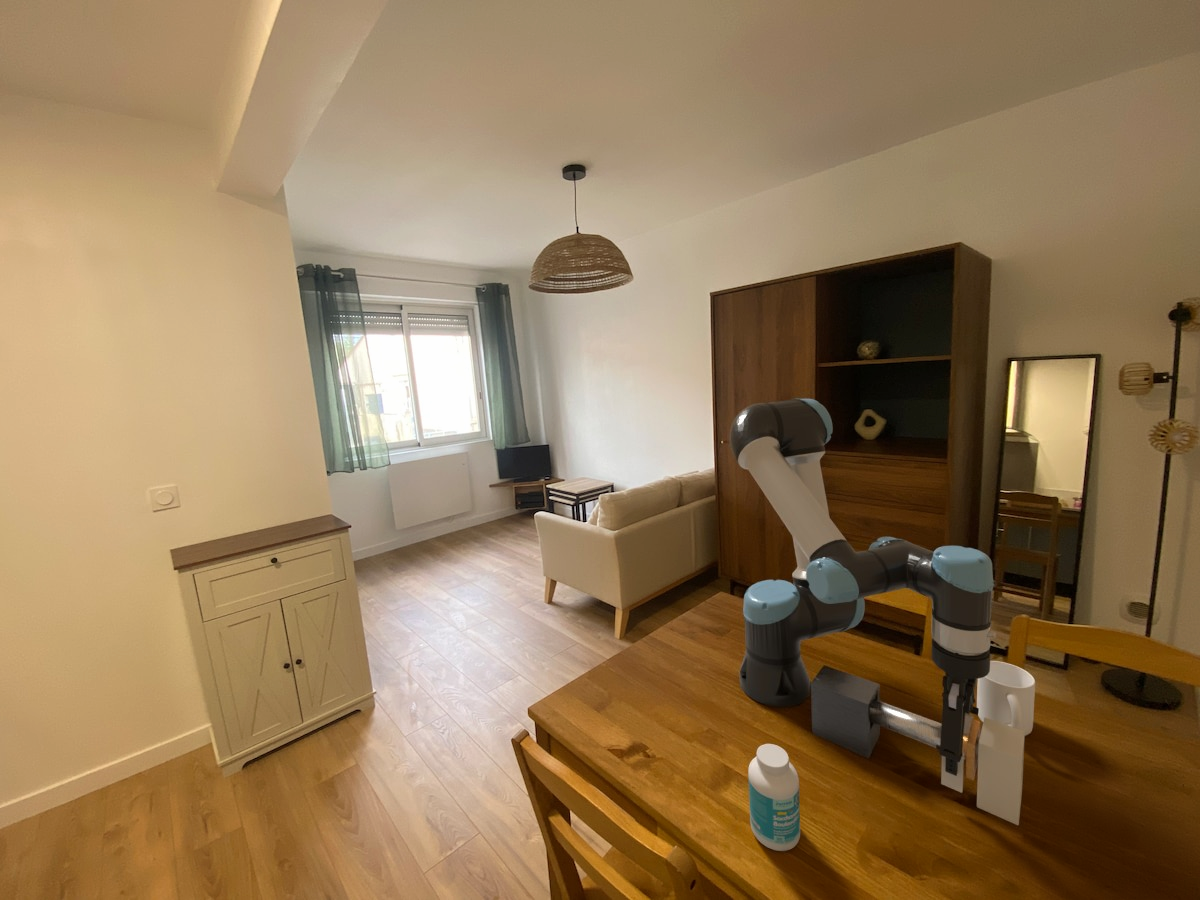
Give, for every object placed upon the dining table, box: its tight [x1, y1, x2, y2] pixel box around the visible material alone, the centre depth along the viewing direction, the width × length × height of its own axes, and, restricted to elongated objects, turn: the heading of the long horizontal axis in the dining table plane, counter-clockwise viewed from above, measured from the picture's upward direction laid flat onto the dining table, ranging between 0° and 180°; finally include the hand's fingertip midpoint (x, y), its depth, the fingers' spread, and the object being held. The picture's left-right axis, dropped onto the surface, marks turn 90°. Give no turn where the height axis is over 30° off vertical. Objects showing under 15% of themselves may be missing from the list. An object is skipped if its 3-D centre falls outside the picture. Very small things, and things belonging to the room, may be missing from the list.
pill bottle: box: [747, 743, 801, 852], centre depth 74 cm, size 8×7×14 cm
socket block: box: [976, 717, 1026, 826], centre depth 75 cm, size 5×7×12 cm
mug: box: [976, 660, 1036, 736], centre depth 89 cm, size 12×8×10 cm
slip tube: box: [870, 699, 981, 781], centre depth 82 cm, size 20×6×6 cm, turn 46°
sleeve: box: [810, 665, 880, 759], centre depth 91 cm, size 10×7×11 cm
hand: (957, 765), depth 79 cm, fingers open, 10 cm apart
